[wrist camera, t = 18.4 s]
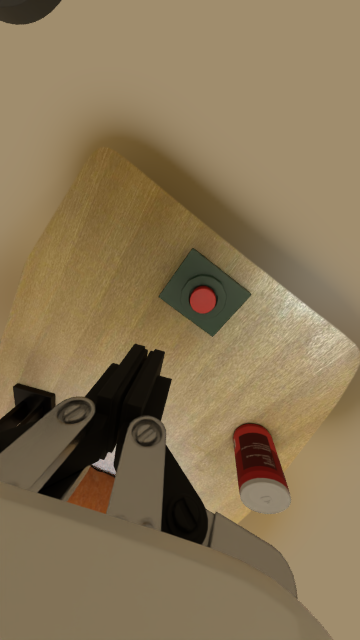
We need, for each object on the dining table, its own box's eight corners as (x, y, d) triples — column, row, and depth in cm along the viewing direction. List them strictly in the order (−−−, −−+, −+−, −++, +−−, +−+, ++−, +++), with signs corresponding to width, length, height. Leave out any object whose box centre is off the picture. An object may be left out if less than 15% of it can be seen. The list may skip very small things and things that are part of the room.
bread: (130, 512, 58) (104, 601, 44) (45, 475, 57) (-10, 553, 43) (147, 487, 53) (124, 578, 38) (53, 446, 52) (-6, 524, 38)
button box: (160, 294, 33) (155, 299, 30) (193, 247, 30) (191, 248, 27) (212, 332, 35) (212, 341, 31) (249, 292, 31) (254, 297, 28)
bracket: (17, 383, 45) (-58, 438, 33) (55, 393, 45) (-6, 453, 32) (21, 418, 50) (-44, 479, 37) (55, 428, 49) (2, 493, 36)
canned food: (250, 455, 44) (262, 520, 34) (224, 434, 43) (229, 494, 32) (279, 439, 41) (303, 504, 31) (253, 416, 40) (268, 475, 30)
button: (186, 300, 30) (184, 303, 28) (201, 280, 29) (200, 283, 27) (205, 314, 30) (204, 318, 29) (220, 296, 29) (221, 299, 27)
